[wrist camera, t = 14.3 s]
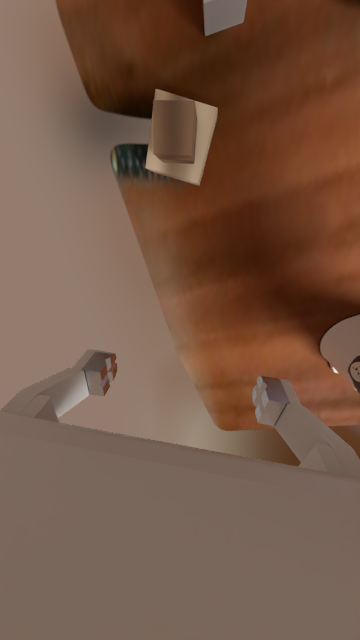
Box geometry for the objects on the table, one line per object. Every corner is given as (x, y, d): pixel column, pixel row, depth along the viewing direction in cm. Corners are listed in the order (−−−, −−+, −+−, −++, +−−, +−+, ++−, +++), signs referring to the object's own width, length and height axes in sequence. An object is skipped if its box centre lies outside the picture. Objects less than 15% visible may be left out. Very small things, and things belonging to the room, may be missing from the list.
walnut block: (197, 120, 28) (194, 100, 23) (194, 164, 31) (191, 155, 25) (163, 119, 28) (153, 100, 23) (163, 162, 31) (153, 154, 26)
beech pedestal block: (216, 118, 31) (217, 107, 27) (199, 186, 35) (198, 183, 32) (161, 101, 30) (155, 88, 27) (151, 171, 35) (145, 167, 32)
